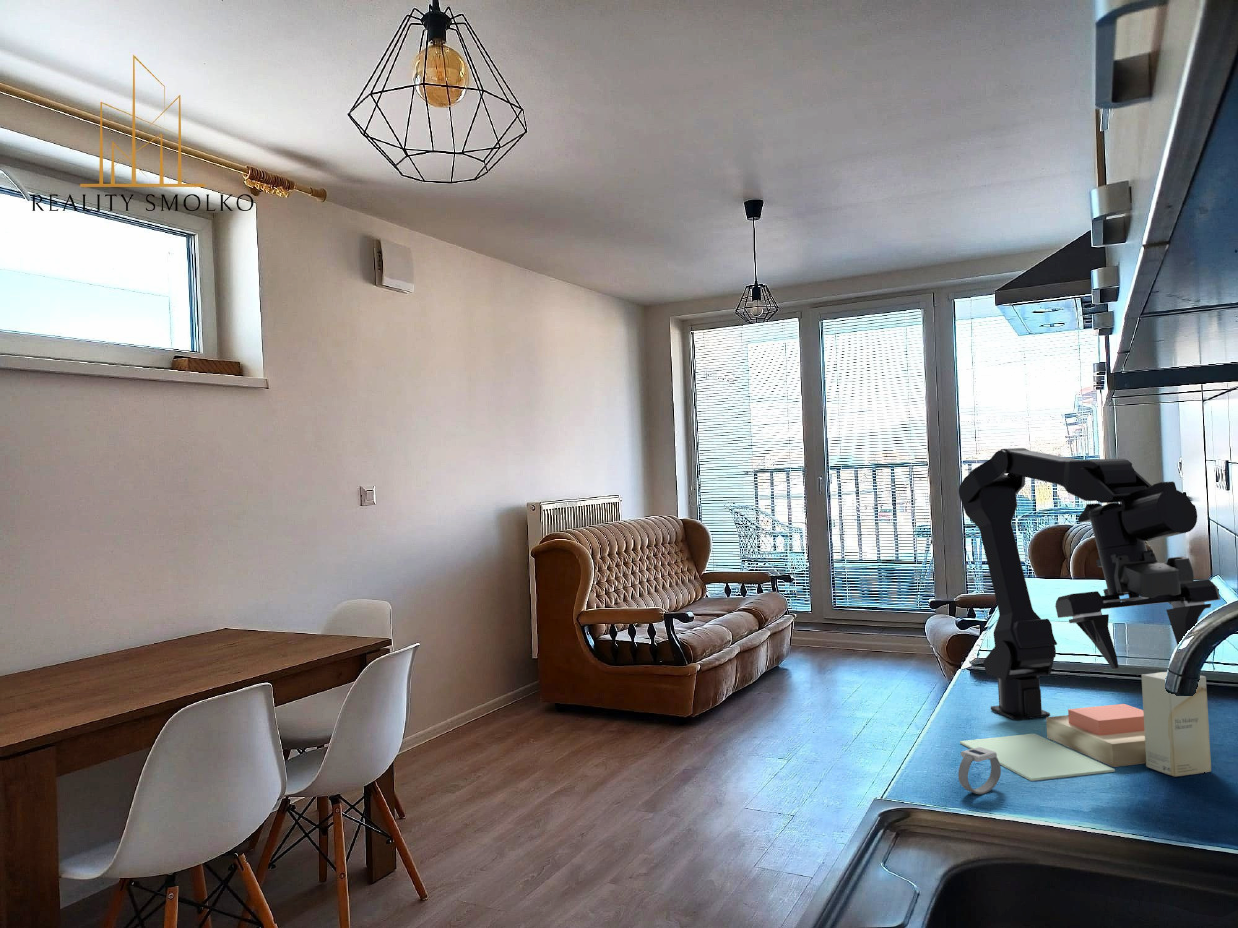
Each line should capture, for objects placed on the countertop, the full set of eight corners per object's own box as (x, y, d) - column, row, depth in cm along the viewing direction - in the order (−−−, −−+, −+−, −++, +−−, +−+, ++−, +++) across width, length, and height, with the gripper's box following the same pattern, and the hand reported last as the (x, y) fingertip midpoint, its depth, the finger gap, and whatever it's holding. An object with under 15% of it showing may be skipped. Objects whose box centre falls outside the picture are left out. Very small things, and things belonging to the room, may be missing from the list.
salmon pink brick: (1099, 735, 115) (1098, 720, 115) (1068, 723, 121) (1068, 709, 121) (1157, 729, 116) (1156, 714, 116) (1124, 717, 122) (1123, 703, 122)
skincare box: (1174, 778, 106) (1169, 681, 107) (1144, 767, 111) (1139, 673, 111) (1213, 771, 108) (1208, 675, 108) (1182, 760, 112) (1176, 668, 113)
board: (1047, 737, 124) (1046, 717, 124) (1113, 730, 126) (1112, 710, 126) (1113, 766, 111) (1111, 743, 111) (1186, 758, 113) (1185, 736, 113)
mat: (959, 743, 123) (959, 740, 123) (1034, 735, 125) (1034, 733, 125) (1031, 780, 108) (1031, 778, 108) (1114, 771, 110) (1114, 769, 110)
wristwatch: (988, 783, 107) (986, 744, 107) (1007, 790, 105) (1005, 749, 105) (953, 793, 105) (951, 752, 105) (972, 800, 102) (970, 759, 102)
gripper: (1076, 546, 108) (1106, 671, 104) (1228, 529, 107) (1264, 655, 103) (1042, 558, 119) (1068, 672, 115) (1180, 543, 118) (1211, 658, 114)
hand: (1151, 664), depth 111 cm, fingers open, 9 cm apart
